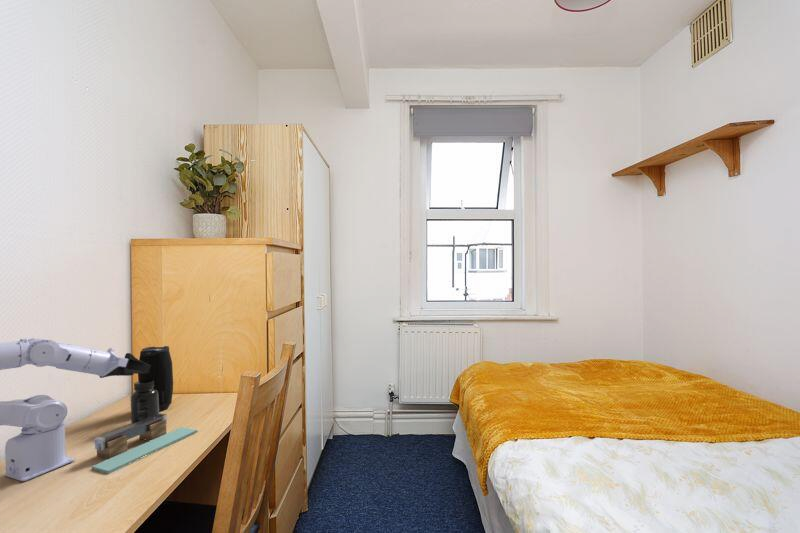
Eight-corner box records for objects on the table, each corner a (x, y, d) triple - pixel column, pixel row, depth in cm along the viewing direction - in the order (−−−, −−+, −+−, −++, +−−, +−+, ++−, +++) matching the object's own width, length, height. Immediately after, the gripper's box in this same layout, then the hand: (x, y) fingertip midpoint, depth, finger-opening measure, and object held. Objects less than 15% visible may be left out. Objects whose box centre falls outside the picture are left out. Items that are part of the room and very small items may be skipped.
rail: (101, 450, 89) (101, 439, 89) (94, 449, 90) (94, 438, 90) (166, 423, 104) (166, 414, 104) (160, 422, 105) (160, 413, 105)
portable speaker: (139, 408, 124) (137, 348, 124) (173, 402, 129) (171, 343, 129) (139, 416, 117) (137, 352, 117) (174, 409, 122) (172, 347, 122)
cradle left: (109, 460, 89) (109, 442, 89) (97, 456, 91) (96, 440, 91) (127, 452, 93) (126, 435, 93) (114, 449, 95) (114, 433, 95)
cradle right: (151, 441, 99) (151, 425, 99) (139, 438, 101) (138, 423, 101) (166, 435, 102) (165, 420, 102) (154, 432, 104) (153, 417, 104)
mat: (108, 473, 83) (108, 470, 83) (91, 469, 86) (91, 466, 86) (197, 432, 104) (197, 429, 104) (181, 429, 106) (181, 427, 106)
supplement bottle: (164, 418, 115) (163, 378, 115) (147, 427, 108) (146, 385, 108) (143, 418, 115) (142, 378, 115) (125, 427, 109) (123, 385, 109)
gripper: (105, 341, 93) (160, 353, 103) (77, 347, 99) (132, 358, 110) (94, 370, 89) (152, 380, 100) (66, 374, 96) (123, 383, 107)
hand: (141, 370), depth 105 cm, fingers open, 7 cm apart
